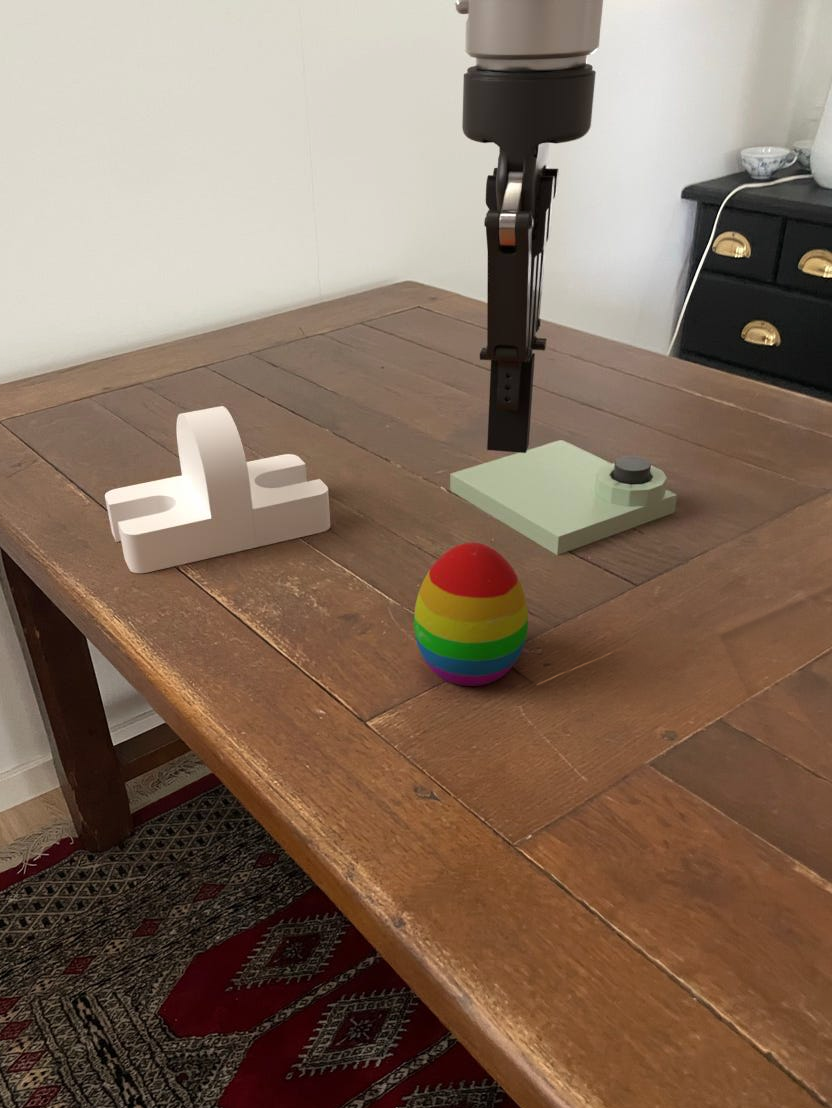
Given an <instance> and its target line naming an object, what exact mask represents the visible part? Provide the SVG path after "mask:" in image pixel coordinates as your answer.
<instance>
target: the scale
mask: <svg viewBox="0 0 832 1108" xmlns="http://www.w3.org/2000/svg"><path fill="white" fill-rule="evenodd" d="M614 464H615V462H613V463H612V462H609V461H608V460H605V459H604V458H601V457H599V456H597V455H595V454H594V453H591V452H588V451H586V450H584V449H582V448H580V447H578V446H576V445H574V444H571V443H570V442H567V441H566V440H563V439H559V440H556V441H552V442H549V443H546V444H543V445H539V446H536V447H533V448H530V449H527V451H526V453H519V452H515V453H514V454H509V455H507V456H504V457H501V458H497V459H494V460H490V461H488V462H487V461H486V462H484V463H481V464H477V465H473V466H471V467H468V468H464V469H460V470H458V471H455V472H451V473H450V475H449V477H450V479H449V485H450V486H449V491H450V492H452V493H453V494H455V495H457V496H459V497H460V498H461V499H463V500H464V501H466V502H468V503H470V504H471V505H473V506H475V507H476V508H478V509H479V510H481V511H484V512H485V513H486V514H488V515H490V516H492V517H493V518H495V519H496V520H498V521H500V522H501V523H503V524H504V525H506V526H508V527H510V528H511V529H513V530H514V531H517V532H518V533H520V534H522V535H523V536H525V537H526V538H528V539H530V540H531V541H532V542H534V543H536V544H538V545H539V546H541V547H542V548H545V549H546V550H548V551H549V552H551V553H553V554H554V555H556V556H558V555H562V554H565V553H567V552H570V551H573V550H575V549H579V548H581V547H584V546H586V545H589V544H592V543H595V542H597V541H598V542H599V541H600V540H603V539H606V538H608V537H611V536H614V535H616V534H620V533H623V532H624V531H625V532H626V531H628V530H630V529H633V528H636V527H639V526H642V525H644V524H647V523H649V522H652V521H655V520H658V519H661V518H663V517H666V516H669V515H671V514H674V513H675V511H676V504H677V497H678V494H676V493H674V492H673V491H670V490H668V489H666V488H667V481H668V477H667V476H666V474H665V473H664V470H661V469H660V468H658V467H656V466H653V465H651V469H650V476H649V481H648V482H647V483H644V484H635V485H630V484H624V483H619V482H617V481H615V480H614V479H613V474H614Z"/></svg>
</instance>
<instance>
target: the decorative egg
mask: <svg viewBox="0 0 832 1108" xmlns="http://www.w3.org/2000/svg"><path fill="white" fill-rule="evenodd" d="M413 628H414V629H413V630H414V637H415V641H416V644H417V647H418V650H419V652H420V655H421V657H422V658H423V660H424V662H425V663H426V664H427V666H428V667H429V668H430V669H431V671H432V672H433V673H434V674H436V675H437V676H438V677H439V678H441V679H442V680H444V681H446V682H449V683H451V684H454V685H458V686H463V687H465V686H466V687H477V686H478V687H479V686H484V685H488V684H491V683H493V682H497V681H498V680H499V679H501V678H502V677H503V676H505V675H506V674H507V673H508V672H509V671H510V670H511V669H512V668H513V666H514V665H515V664H516V663H517V661H518V660H519V658H520V656H521V654H522V652H523V649H524V647H525V644H526V642H527V641H526V640H527V637H528V631H529V609H528V603H527V597H526V593H525V590H524V588H523V585H522V582H521V580H520V579H519V576H518V575H517V573H516V571H515V570H514V568H513V566H512V565H511V564H510V563H509V562H508V560H507V559H506V558H505V557H504V556H503V555H502V554H501V553H499V552H498V551H497V550H495V549H494V548H492V547H491V546H489V545H487V544H484V543H481V542H473V541H472V542H464V543H461V544H458V545H456V546H454V547H452V548H450V549H449V550H447V551H445V553H443V554H442V555H441V556H439V558H438V559H437V560H436V561H435V562H434V564H433V565H432V566H431V567H430V569H429V570H428V572H427V573H426V575H425V577H424V579H423V581H422V582H421V585H420V588H419V591H418V594H417V597H416V601H415V606H414V614H413Z"/></svg>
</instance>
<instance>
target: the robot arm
mask: <svg viewBox="0 0 832 1108" xmlns="http://www.w3.org/2000/svg"><path fill="white" fill-rule="evenodd" d="M454 5H455V11H457V13H458V14H460V15H467V19H466V22H465V43H464V45H465V49H464V51H465V53H466V54H467V55H468V56H469V57H470V58H475V65H474V66H469V67H468V68H467V69H466V71H467V72H465V73H464V74H463V82H462V83H463V86H462V123H461V125H462V126H461V128H462V132H463V134H464V136H465V137H466V138H467V139H469V140H471V141H474V142H476V143H482V144H488V143H489V144H491V143H493V144H495V145H496V146H497V147H498V148H499V150H498V151H499V154H498V158H497V167H494V168H493V172H492V174H488V175H487V177H486V182H485V205H486V207H487V209H488V210H487V212H486V214H485V217H484V223H483V225H484V227H485V234H486V235H485V236H486V248H487V250H486V251H487V288H486V289H487V293H486V294H487V298H486V299H487V302H486V303H487V306H486V307H487V309H486V310H487V311H486V313H487V315H486V317H487V320H486V321H487V323H486V325H487V326H486V327H487V329H486V330H487V332H486V334H487V338H486V339H487V340H486V342H487V343H486V344H487V345H486V347H482V348H481V350H480V352H479V360H480V361H490V375H489V395H488V397H489V400H488V419H487V420H488V421H487V422H488V423H487V440H486V441H487V442H486V443H487V444H486V451H495V452H508V453H509V452H510V453H526V451H527V450H528V448H529V446H530V431H531V417H532V416H531V415H532V404H533V403H532V401H533V388H534V387H533V386H534V373H535V360H536V359H535V358H536V353H533V351H541V352H543V351H546V348H547V341H548V339H547V338H545V337H544V338H543V337H538V336H537V333H538V331H539V330H540V327H541V323H542V319H541V318H540V316H541V315H540V314H541V306H542V305H541V304H542V294H543V283H544V272H545V264H546V263H545V262H546V250H547V242H548V240H549V238H550V236H551V231H552V220H553V219H552V217H553V204H554V199H555V198H556V197H557V196H556V195H558V190H559V180H560V179H559V178H560V169H559V168H549V164H550V144H562V143H568V142H574V141H578V140H580V139H583V138H584V137H585V136H587V135H588V133H589V132H590V130H591V127H592V121H593V120H592V119H593V108H594V97H595V85H596V76H597V75H596V74H597V72H596V70H593V68H594V67H593V65H592V64H590V63H588V56H590V55H593V54H594V53H596V52H597V50H599V48H600V38H601V29H602V18H603V6H604V0H456V1H455V3H454Z"/></svg>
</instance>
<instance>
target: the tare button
mask: <svg viewBox="0 0 832 1108" xmlns="http://www.w3.org/2000/svg"><path fill="white" fill-rule="evenodd" d="M614 463H615V464H614V474H613V479H614V480H615V481H617V482H619V483H624V484H630V485H635V484H644V483H647V482H648V481H649V476H650V469H651V466H652V463H651V462H650V461H649V460H648V459H645V458H643V457H638V456H623V457H619V458H617V459H616V460H615V461H614Z"/></svg>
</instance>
